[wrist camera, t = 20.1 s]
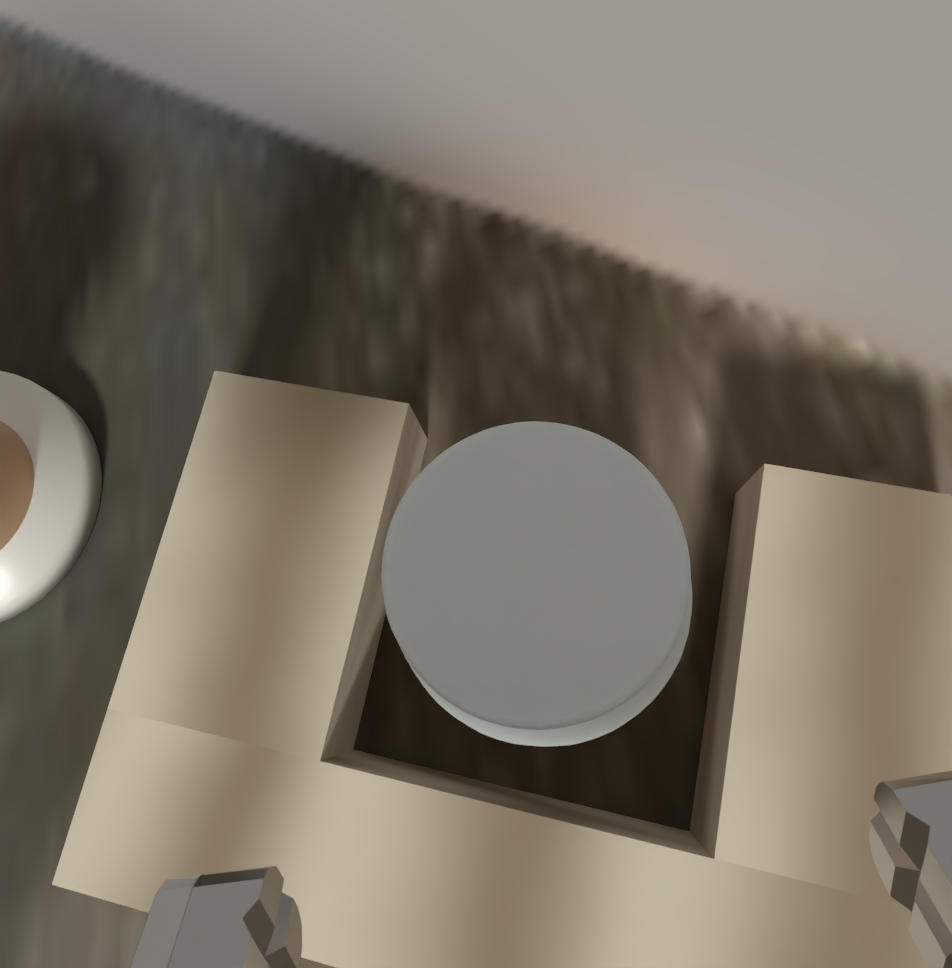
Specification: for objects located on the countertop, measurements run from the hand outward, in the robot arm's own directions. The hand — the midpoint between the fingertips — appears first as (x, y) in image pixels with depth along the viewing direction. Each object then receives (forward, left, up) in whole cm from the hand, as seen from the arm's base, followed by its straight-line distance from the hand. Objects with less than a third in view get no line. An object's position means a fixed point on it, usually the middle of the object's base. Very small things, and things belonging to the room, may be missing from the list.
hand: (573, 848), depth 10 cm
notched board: (-1, +2, -10) cm, 10 cm away
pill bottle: (-1, +4, -10) cm, 11 cm away
